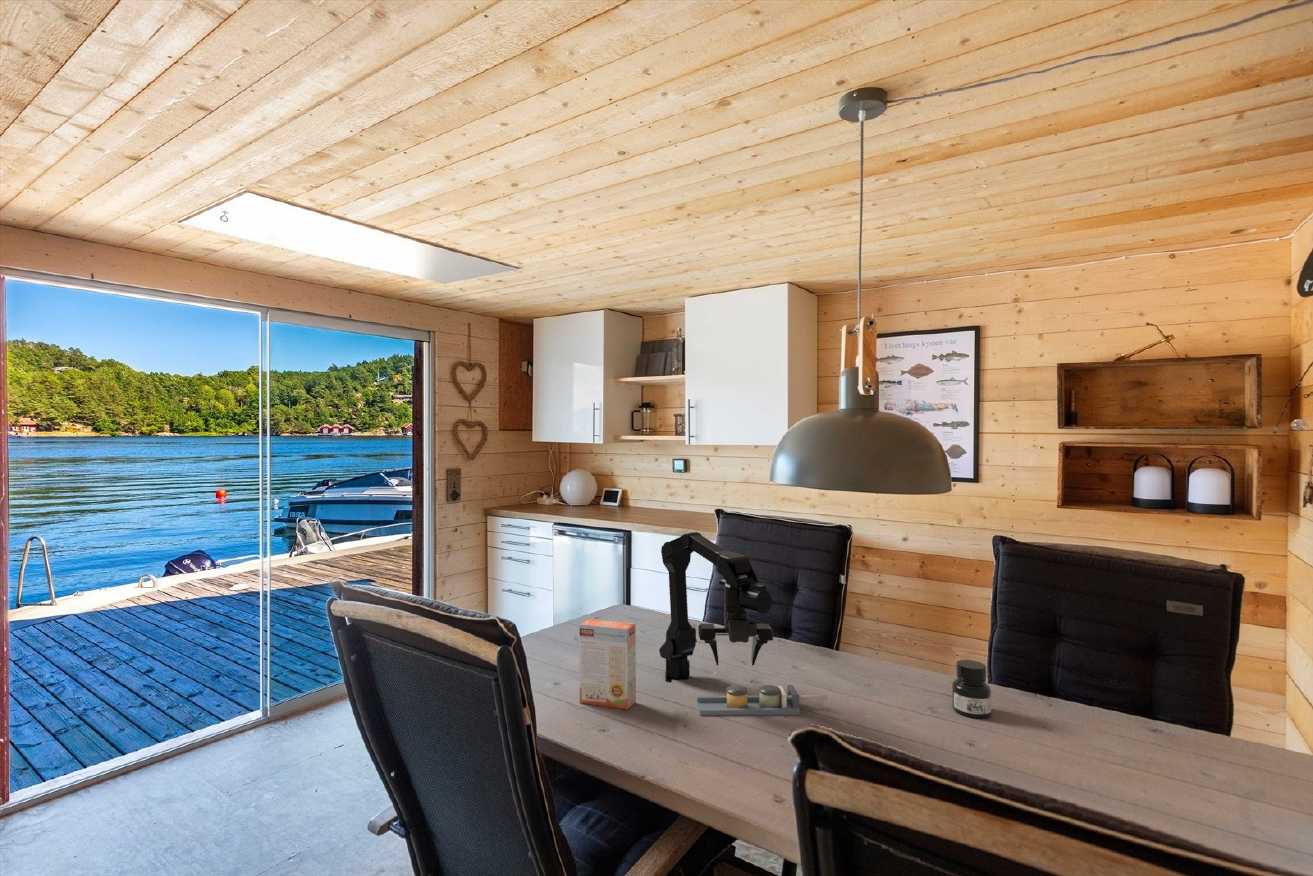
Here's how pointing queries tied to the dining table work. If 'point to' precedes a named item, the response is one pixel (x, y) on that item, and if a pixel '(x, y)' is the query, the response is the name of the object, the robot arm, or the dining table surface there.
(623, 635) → the cracker box
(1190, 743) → the dining table surface
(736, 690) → the jar
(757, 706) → the lane
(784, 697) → the pusher
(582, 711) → the dining table surface
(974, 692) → the ink bottle
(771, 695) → the jar in lane
